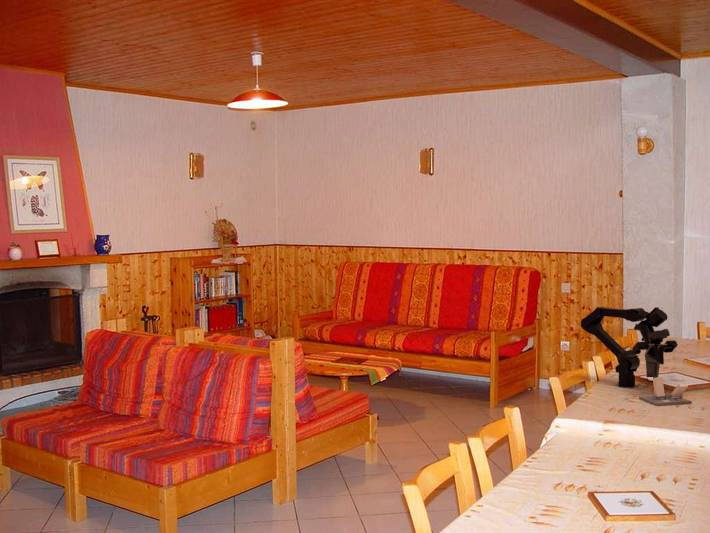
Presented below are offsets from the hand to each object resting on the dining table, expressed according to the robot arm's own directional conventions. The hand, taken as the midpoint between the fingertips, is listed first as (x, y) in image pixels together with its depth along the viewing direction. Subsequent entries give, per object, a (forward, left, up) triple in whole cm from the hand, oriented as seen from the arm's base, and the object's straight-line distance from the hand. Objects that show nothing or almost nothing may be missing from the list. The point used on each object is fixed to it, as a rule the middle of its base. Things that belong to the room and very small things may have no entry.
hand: (662, 364), depth 344 cm
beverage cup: (-2, +30, -14) cm, 33 cm away
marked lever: (+4, -8, -11) cm, 14 cm away
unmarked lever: (-2, -11, -11) cm, 16 cm away
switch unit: (+1, -9, -13) cm, 16 cm away
